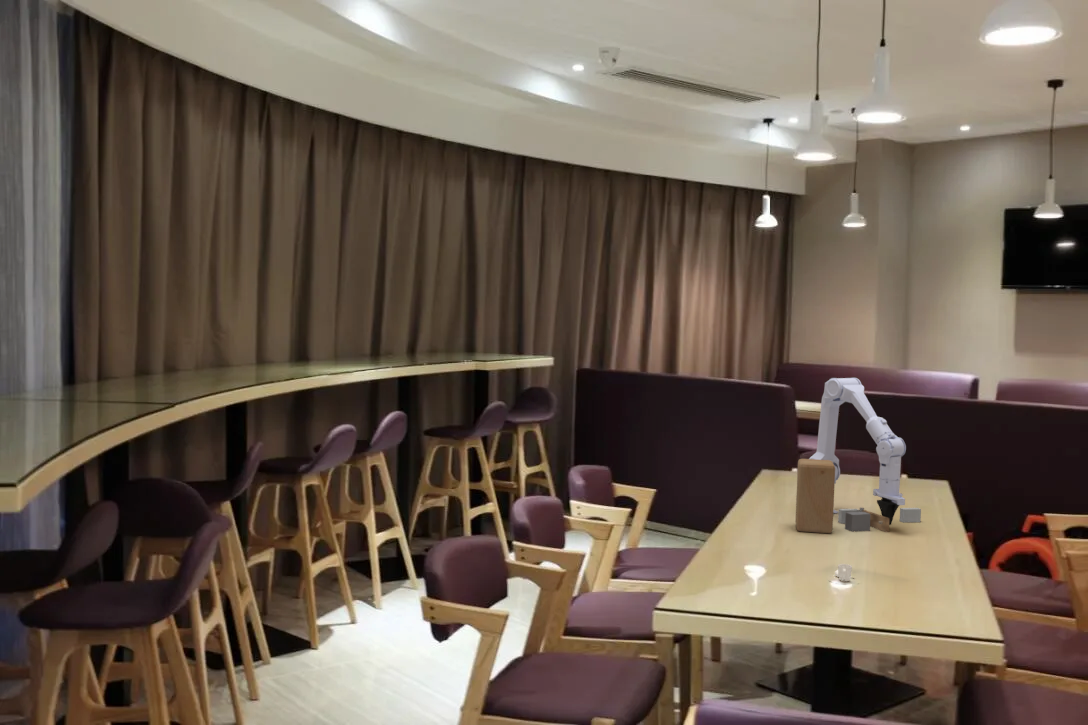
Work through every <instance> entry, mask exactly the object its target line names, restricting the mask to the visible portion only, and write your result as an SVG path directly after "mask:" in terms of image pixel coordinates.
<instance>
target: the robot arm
mask: <svg viewBox="0 0 1088 725" xmlns="http://www.w3.org/2000/svg"><path fill="white" fill-rule="evenodd" d="M844 403H849V404H852V405H853V406H854V408H855V409H856V410H857V412H858V413H859V414H860V416H861V417H862V418H863V419H864V420H865V422H866V424H865V429H866V430H867V432H868V433H869V435H870V436H871V438H872V439H873V441H874V442H875V444H876V445H877V446H876V448H875V451H876V453H877V456H878V462H879V480H878V488H873V490H872V491H873V492H872V495H873V496H874V497H880V499H877V500H876V503H877V505H878V507H879V510H880V515H881V516H884V517H887V518H889V526H891V525H892V524H893V520H894V516H895V514H896V512H897V510H898V508H900V506H906V498H904V497H903V496H904V495H903V494H904V493H901V492H900V487H901V469H902V468H901V466H902V464H901V463H902V457H903V456H904V455H905V454H906V450H907V445H906V443H905V441H904V439H903V438H902V437H900V436H899V437H898V436H897V435H896V434H895V433H894V432H893V431H892V429H891V428H890V426H889V425H888V421H887V420H886V419H885V418H884V417H880V416H878V415H877V413H876V412H875V410H874V408H873V406H872V405H871V403H870V401H869V400H868V397H867V396H866V394H865V386H864V385H863V384H862V382H861V380H860V379H859V378H857V377H845V378H843V377H840V378H839V377H838V378H837V377H831V378H829V380H827V381H826V382H824V390H823V394H822V396H821V404H820V413H819V414H820V415H819V423H818V434H817V443H816V444H817V445H816V452H815V453H813V454H812V456H810V457H809V458H808V459H817V460H830V461H832V462H833V464H834V466H835V485H836V483H837V480H839V478H840V476H841V468H840V459H839V458H838V456H836V455H835V452H836V441H837V440H836V439H837V432H838V431H837V430H838V422H839V421H838V420H839V414H840V413H839V412H840V406H841V405H843V404H844ZM833 514H839V510H836V509H834V508H833Z"/></svg>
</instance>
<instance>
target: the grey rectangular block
mask: <svg viewBox="0 0 1088 725" xmlns="http://www.w3.org/2000/svg"><path fill="white" fill-rule="evenodd" d="M870 515H871V514H869V513H866V512H846V516H845V524H844V529H845V530H847V531H849V532H854V531H855V532H869V531H871V526H870Z"/></svg>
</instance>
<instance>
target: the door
mask: <svg viewBox="0 0 1088 725" xmlns="http://www.w3.org/2000/svg"><path fill="white" fill-rule="evenodd" d="M862 512H866V513H869V514H871V515H870V528H873V527H874V529H877V530H879V531H882V532H884V533H889V532H890V530H889V529H890V525H889V518H887V517H884V516H882V514H879V513H875V512H872V511H869V510H866V509H864V510H862Z"/></svg>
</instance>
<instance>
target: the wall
mask: <svg viewBox="0 0 1088 725" xmlns="http://www.w3.org/2000/svg"><path fill="white" fill-rule="evenodd" d="M862 510H865V508H864V507H859V509H858V508H839V509H838V513H837V515H838V516H837V517H838V518H837V519H838V520H837V522H838V523H840V525H841V524H844V525H845V516H846V512H862ZM921 515H922V508H918V507H899V522H901V523H921V520H922V519H921V518H922V516H921Z"/></svg>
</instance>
